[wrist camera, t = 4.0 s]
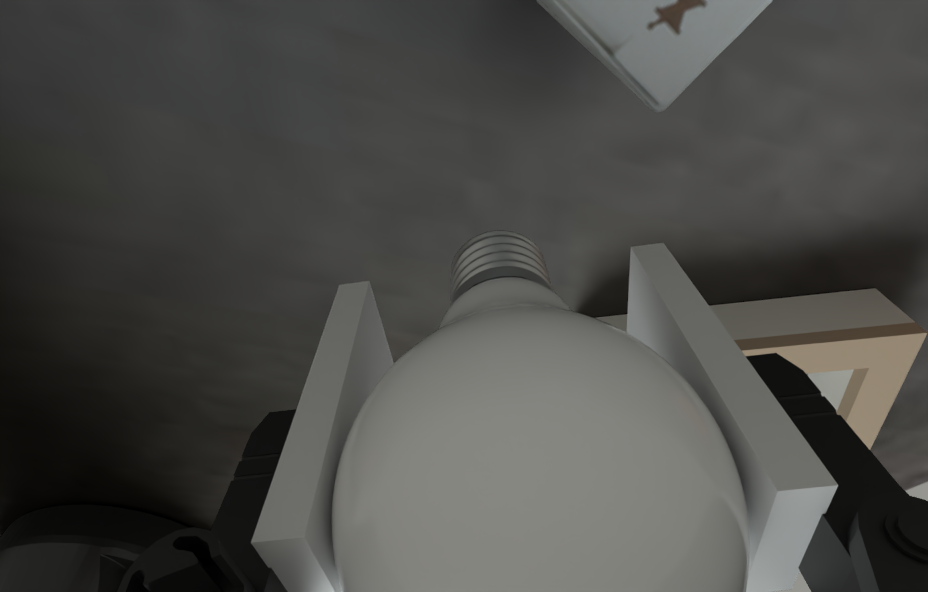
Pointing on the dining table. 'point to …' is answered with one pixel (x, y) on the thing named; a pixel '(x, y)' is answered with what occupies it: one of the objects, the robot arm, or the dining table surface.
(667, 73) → the small box
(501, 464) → the lightbulb
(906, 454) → the dining table surface
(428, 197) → the dining table surface
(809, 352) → the square frame
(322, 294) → the dining table surface
